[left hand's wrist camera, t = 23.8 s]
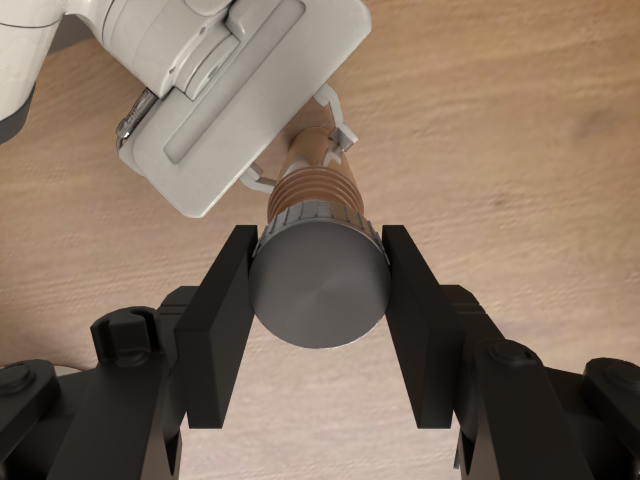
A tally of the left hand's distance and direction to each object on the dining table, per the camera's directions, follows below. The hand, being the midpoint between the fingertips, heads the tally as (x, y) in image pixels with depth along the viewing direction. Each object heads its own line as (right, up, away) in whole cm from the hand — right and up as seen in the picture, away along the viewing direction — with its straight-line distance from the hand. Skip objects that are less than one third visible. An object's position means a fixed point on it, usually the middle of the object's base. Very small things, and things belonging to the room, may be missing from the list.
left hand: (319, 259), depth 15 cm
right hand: (0, +6, +17) cm, 18 cm away
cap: (0, -1, -2) cm, 2 cm away
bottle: (0, +9, +22) cm, 24 cm away
